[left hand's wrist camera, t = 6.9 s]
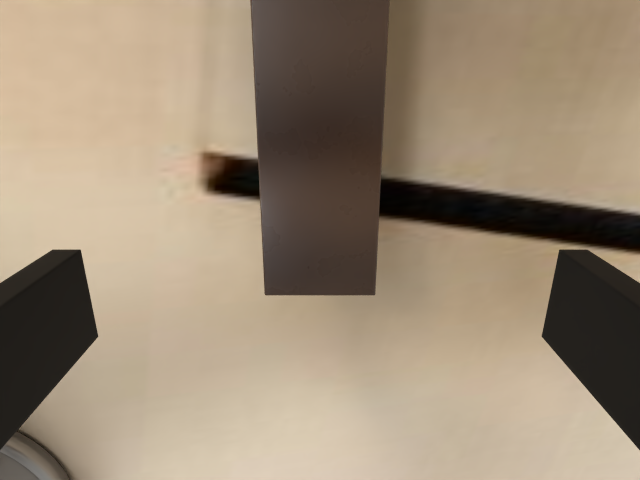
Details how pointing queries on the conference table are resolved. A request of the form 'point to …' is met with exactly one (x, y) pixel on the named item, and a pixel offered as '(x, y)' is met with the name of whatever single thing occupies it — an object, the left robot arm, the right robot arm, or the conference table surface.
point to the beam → (320, 141)
